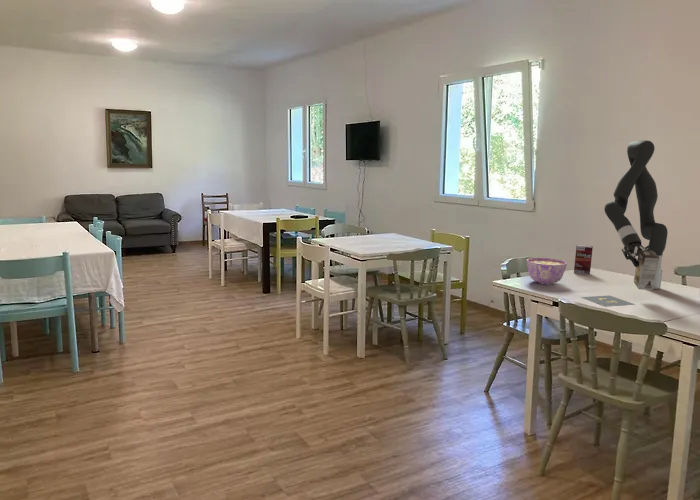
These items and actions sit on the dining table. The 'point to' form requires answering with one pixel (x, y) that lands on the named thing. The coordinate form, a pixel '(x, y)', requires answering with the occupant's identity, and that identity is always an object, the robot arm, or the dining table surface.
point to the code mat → (607, 300)
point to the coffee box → (646, 270)
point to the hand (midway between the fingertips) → (645, 266)
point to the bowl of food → (546, 269)
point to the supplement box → (583, 259)
